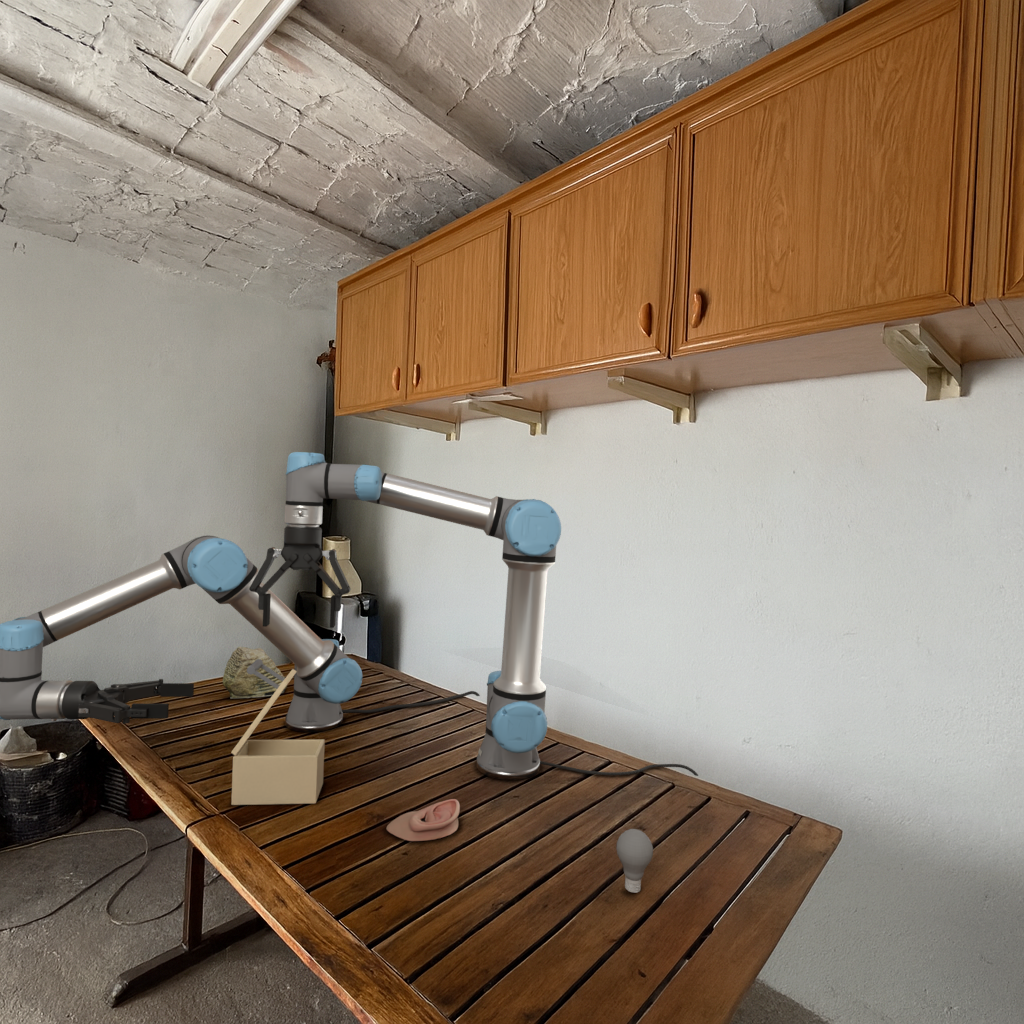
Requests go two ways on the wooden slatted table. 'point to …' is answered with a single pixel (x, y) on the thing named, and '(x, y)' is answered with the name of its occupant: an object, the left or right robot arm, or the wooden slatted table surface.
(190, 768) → the wooden slatted table surface
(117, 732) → the wooden slatted table surface
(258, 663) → the lid
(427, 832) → the anatomical model
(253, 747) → the chest
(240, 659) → the fossil
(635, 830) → the light bulb
